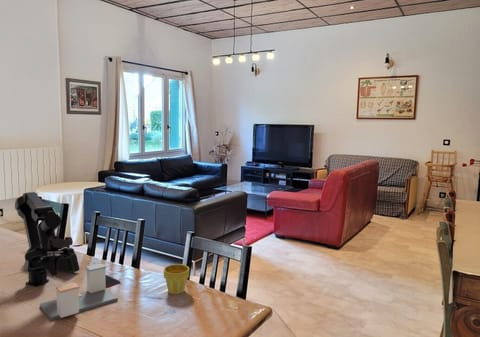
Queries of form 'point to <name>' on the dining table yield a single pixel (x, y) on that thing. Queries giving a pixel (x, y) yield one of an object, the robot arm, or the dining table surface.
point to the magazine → (68, 263)
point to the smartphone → (111, 281)
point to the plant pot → (176, 278)
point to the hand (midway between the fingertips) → (54, 275)
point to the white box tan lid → (67, 299)
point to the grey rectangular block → (96, 278)
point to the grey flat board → (81, 302)
